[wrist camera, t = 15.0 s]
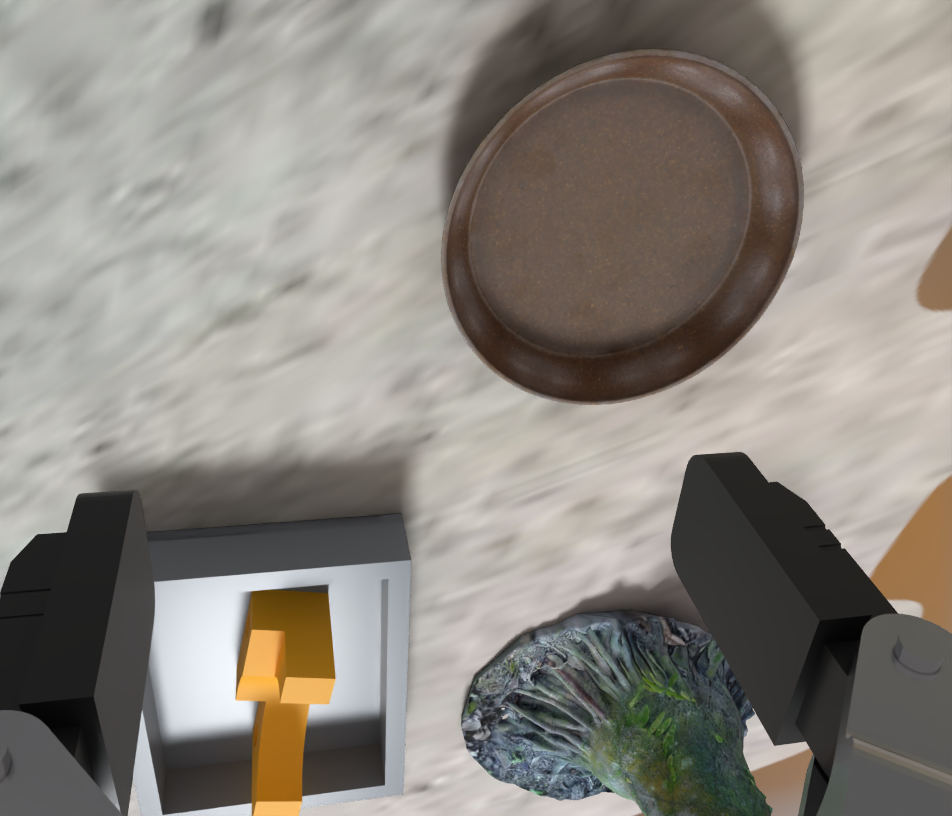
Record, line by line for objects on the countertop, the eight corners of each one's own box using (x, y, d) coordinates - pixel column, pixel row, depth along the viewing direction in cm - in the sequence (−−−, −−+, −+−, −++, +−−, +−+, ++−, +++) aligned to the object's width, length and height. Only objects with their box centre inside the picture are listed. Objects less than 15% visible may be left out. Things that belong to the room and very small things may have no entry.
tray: (150, 773, 59) (144, 830, 55) (104, 535, 48) (92, 587, 45) (395, 743, 62) (403, 794, 59) (401, 513, 52) (411, 559, 48)
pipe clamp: (252, 588, 51) (251, 675, 46) (328, 593, 53) (335, 678, 47) (224, 730, 57) (220, 823, 52) (293, 731, 58) (296, 822, 53)
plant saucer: (664, 414, 52) (684, 443, 49) (377, 324, 45) (384, 353, 43) (841, 124, 45) (877, 141, 42) (530, -34, 38) (549, -24, 35)
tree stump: (483, 591, 57) (649, 830, 43) (723, 551, 66) (920, 736, 53) (435, 791, 65) (561, 1045, 51) (654, 730, 74) (810, 931, 61)
